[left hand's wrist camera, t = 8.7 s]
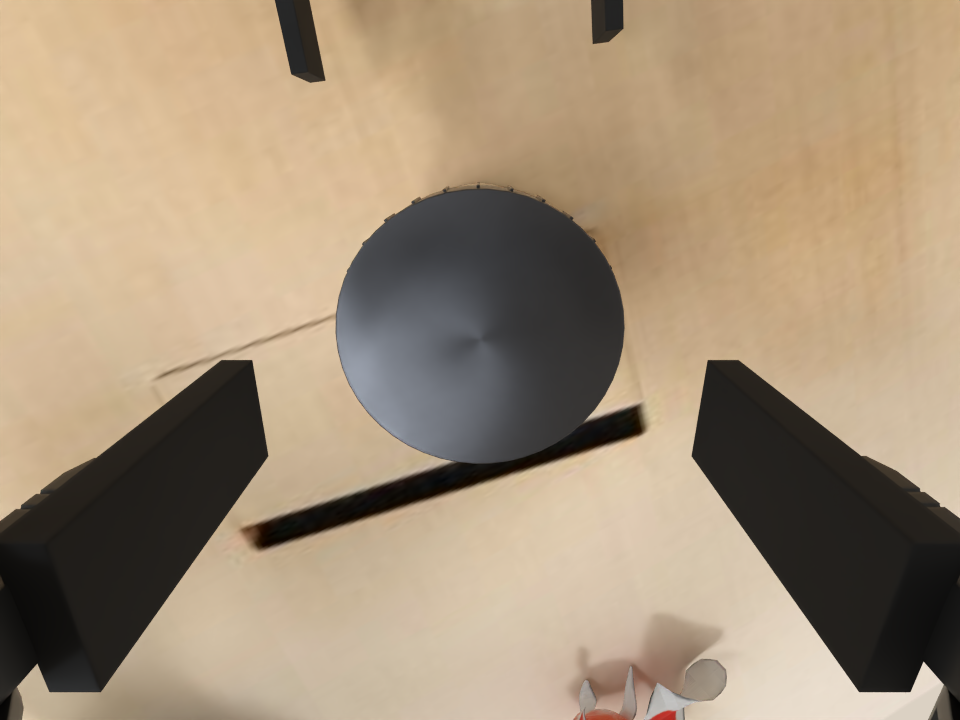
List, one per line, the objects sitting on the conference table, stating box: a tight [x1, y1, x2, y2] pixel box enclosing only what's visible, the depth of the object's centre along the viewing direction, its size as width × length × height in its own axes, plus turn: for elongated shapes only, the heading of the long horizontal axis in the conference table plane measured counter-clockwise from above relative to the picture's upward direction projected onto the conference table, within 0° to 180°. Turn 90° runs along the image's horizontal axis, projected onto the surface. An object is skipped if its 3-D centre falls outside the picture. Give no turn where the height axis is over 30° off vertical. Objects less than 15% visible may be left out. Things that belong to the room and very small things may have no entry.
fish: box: [573, 659, 727, 720], centre depth 43 cm, size 11×16×10 cm
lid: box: [336, 183, 624, 463], centre depth 19 cm, size 10×10×2 cm
